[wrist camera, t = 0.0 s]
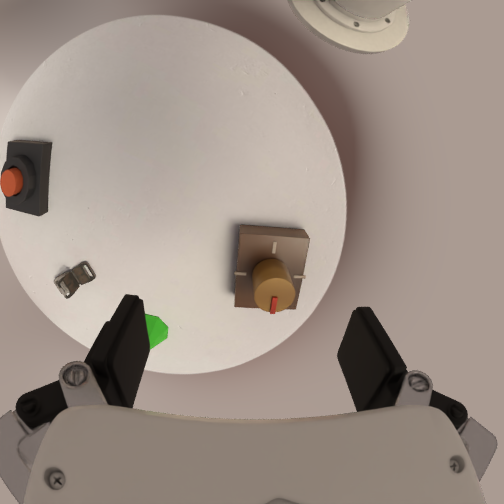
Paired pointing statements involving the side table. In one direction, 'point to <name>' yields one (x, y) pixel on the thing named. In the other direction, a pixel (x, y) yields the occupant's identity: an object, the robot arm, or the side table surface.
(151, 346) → the gemstone
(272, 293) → the knob
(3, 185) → the button
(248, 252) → the panel
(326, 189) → the side table surface
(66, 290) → the strap clip
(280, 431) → the robot arm
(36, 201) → the button box
